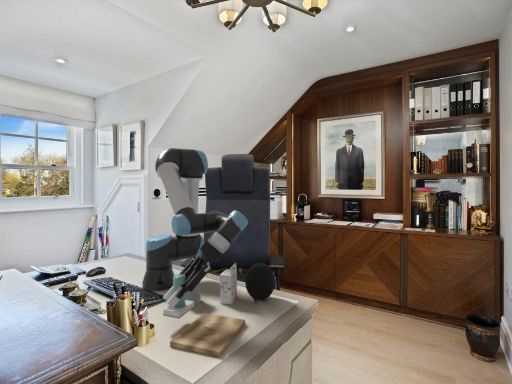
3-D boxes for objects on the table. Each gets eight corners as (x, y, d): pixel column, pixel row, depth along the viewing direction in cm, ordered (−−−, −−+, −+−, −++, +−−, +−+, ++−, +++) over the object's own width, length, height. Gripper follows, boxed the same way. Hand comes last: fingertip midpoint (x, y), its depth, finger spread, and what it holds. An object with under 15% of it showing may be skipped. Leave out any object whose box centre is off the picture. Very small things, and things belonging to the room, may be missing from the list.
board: (170, 346, 85) (170, 341, 85) (203, 317, 104) (203, 312, 104) (219, 357, 80) (219, 351, 80) (245, 324, 99) (245, 319, 99)
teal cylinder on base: (163, 315, 94) (163, 279, 94) (179, 304, 103) (179, 271, 102) (179, 318, 93) (179, 281, 92) (194, 307, 101) (194, 273, 100)
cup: (189, 308, 111) (189, 282, 111) (174, 303, 116) (174, 278, 116) (204, 300, 119) (204, 276, 118) (190, 296, 123) (190, 273, 123)
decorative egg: (245, 306, 113) (245, 268, 113) (244, 294, 126) (244, 259, 125) (276, 305, 114) (277, 267, 114) (272, 293, 127) (273, 259, 126)
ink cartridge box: (226, 295, 124) (226, 261, 124) (237, 296, 123) (237, 262, 123) (219, 303, 116) (219, 267, 115) (231, 304, 115) (231, 268, 114)
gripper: (231, 259, 98) (183, 319, 90) (212, 249, 112) (169, 299, 104) (217, 246, 95) (165, 306, 87) (199, 236, 109) (154, 287, 101)
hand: (167, 302), depth 96 cm, fingers closed on teal cylinder on base, 4 cm apart
